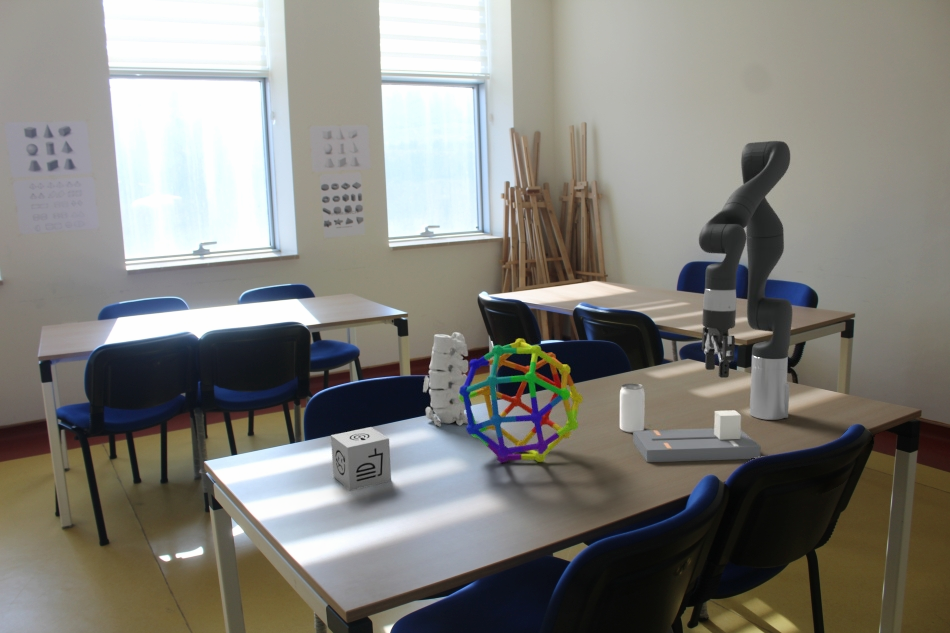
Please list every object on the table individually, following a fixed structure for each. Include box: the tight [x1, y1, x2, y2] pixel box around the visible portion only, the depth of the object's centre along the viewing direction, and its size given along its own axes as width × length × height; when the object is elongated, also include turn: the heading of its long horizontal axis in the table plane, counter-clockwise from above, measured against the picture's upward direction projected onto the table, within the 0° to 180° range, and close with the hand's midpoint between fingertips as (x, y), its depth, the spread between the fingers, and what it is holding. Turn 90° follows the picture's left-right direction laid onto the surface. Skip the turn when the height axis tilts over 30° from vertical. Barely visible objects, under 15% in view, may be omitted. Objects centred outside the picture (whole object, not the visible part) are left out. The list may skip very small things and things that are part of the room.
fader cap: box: [713, 409, 742, 440], centre depth 178 cm, size 5×4×6 cm
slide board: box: [632, 427, 762, 463], centre depth 179 cm, size 27×14×3 cm, turn 91°
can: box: [619, 382, 646, 434], centre depth 195 cm, size 6×6×12 cm
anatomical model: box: [422, 331, 469, 427], centre depth 205 cm, size 11×12×25 cm
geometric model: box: [459, 338, 584, 464], centre depth 174 cm, size 30×30×30 cm
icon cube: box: [330, 426, 392, 491], centre depth 167 cm, size 10×10×10 cm
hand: (716, 373), depth 178 cm, fingers open, 8 cm apart
